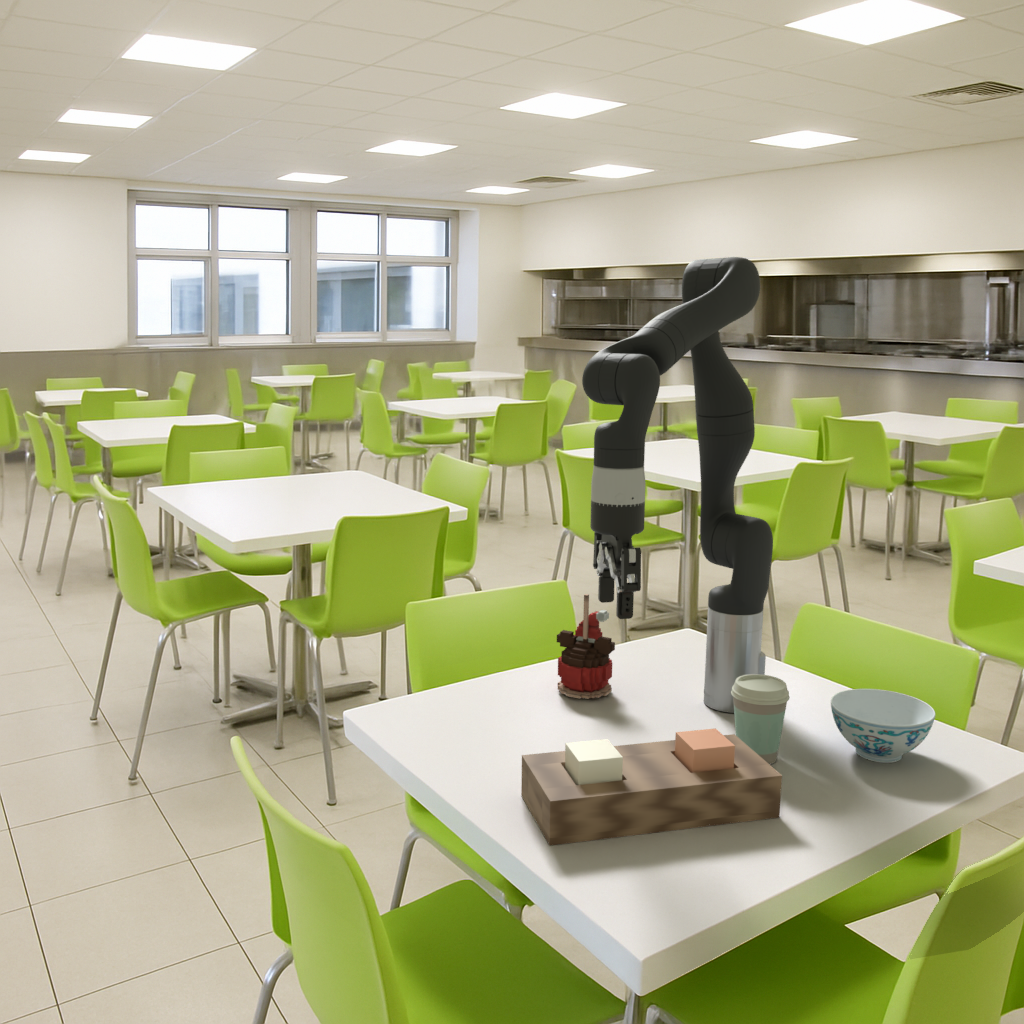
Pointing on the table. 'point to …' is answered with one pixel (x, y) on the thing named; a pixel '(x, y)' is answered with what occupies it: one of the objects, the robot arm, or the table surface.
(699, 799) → the block
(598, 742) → the cream key
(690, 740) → the terracotta key
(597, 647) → the cake
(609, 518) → the robot arm
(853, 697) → the chinaware
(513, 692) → the table surface
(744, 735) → the coffee cup
